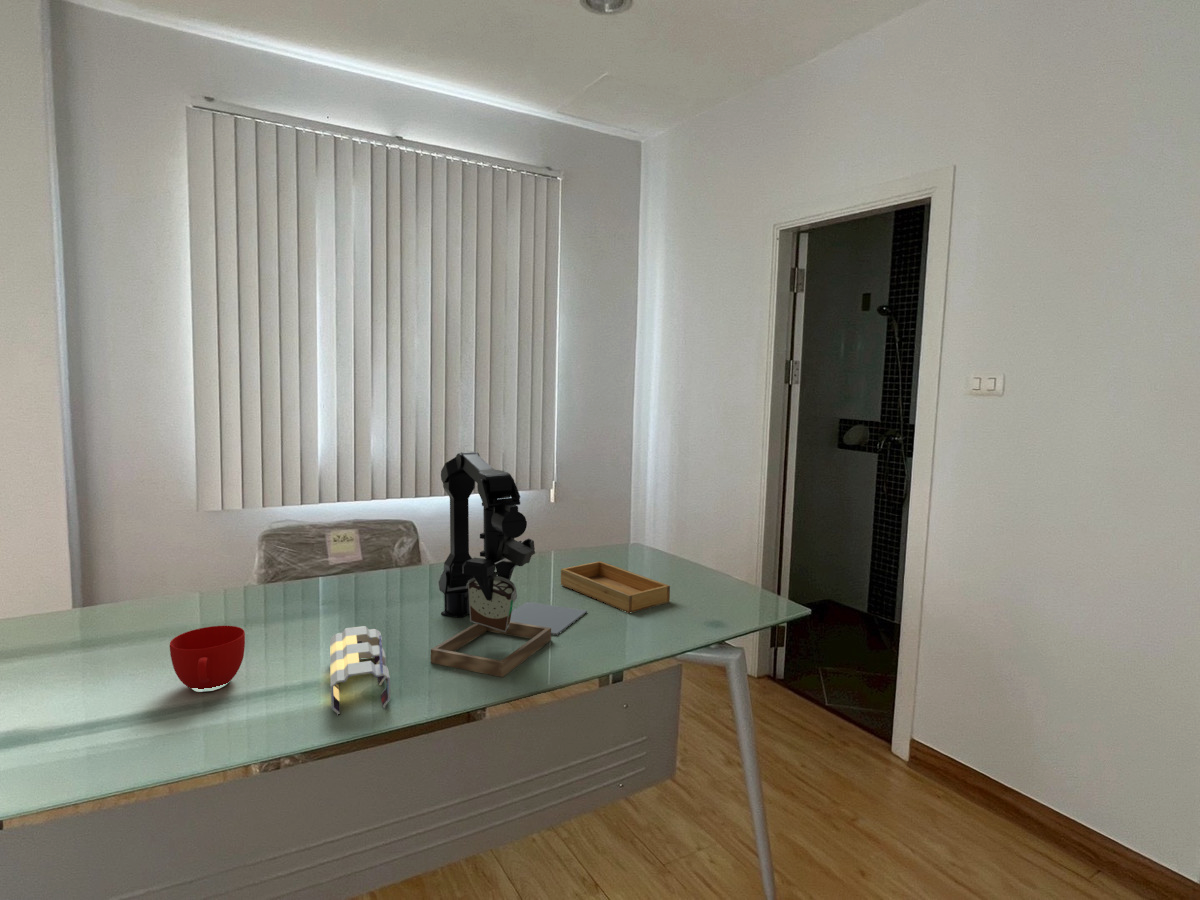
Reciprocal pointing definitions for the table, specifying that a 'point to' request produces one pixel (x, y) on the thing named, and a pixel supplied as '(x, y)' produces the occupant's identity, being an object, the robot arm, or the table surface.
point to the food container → (492, 604)
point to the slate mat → (546, 616)
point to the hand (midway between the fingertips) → (496, 596)
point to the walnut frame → (448, 657)
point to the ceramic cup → (208, 655)
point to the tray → (615, 586)
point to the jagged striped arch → (357, 660)
